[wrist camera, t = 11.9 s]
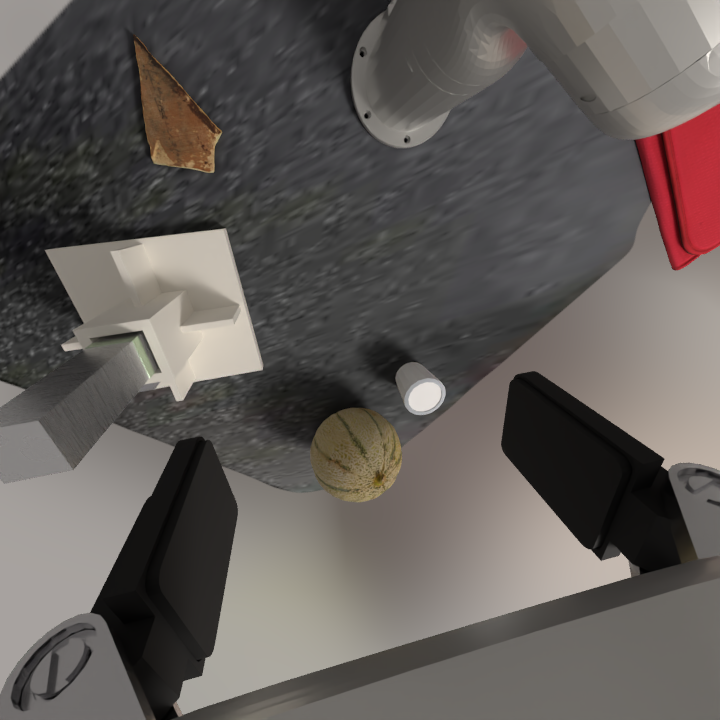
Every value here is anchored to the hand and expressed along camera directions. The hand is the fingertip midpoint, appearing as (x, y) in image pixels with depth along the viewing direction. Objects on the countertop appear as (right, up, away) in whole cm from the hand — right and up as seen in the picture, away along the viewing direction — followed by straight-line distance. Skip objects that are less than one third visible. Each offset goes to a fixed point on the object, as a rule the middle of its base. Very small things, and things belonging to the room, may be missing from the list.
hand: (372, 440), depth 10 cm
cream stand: (-26, +9, +34) cm, 43 cm away
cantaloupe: (-2, -9, +48) cm, 49 cm away
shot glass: (+9, 0, +46) cm, 46 cm away
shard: (-22, +29, +25) cm, 44 cm away
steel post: (-25, +5, +25) cm, 35 cm away
